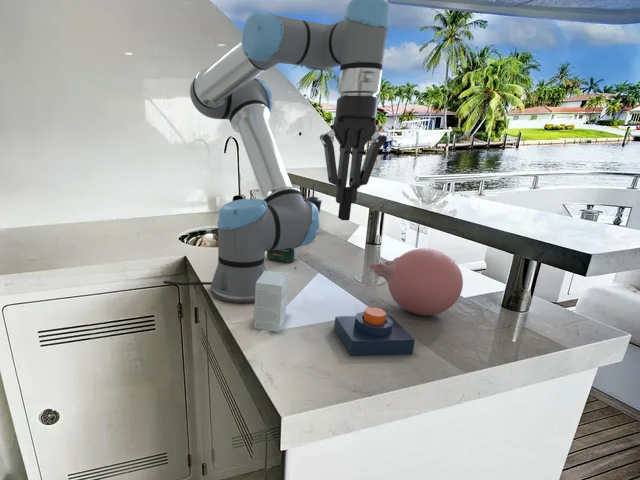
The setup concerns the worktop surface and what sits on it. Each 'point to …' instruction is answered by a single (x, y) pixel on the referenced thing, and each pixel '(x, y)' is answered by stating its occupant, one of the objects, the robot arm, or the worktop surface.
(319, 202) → the drinking cup
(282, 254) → the coffee jar
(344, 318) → the push button
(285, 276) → the small box
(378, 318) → the orange button cap
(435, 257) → the balloon
